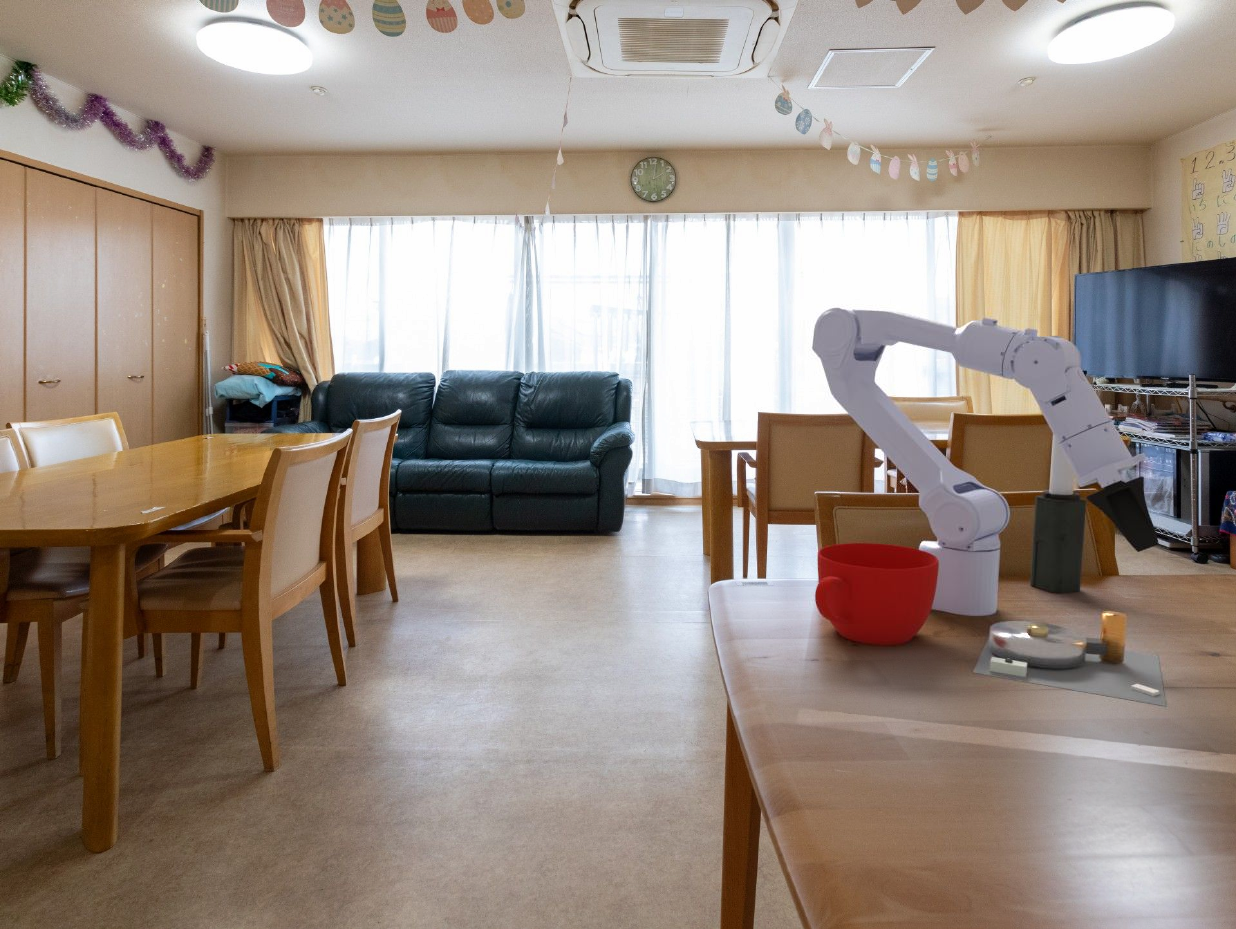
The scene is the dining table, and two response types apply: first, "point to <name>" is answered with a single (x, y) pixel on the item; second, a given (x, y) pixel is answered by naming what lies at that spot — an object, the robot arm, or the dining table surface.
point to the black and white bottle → (1058, 530)
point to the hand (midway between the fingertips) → (1147, 546)
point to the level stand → (1086, 675)
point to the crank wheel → (1058, 642)
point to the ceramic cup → (876, 590)
